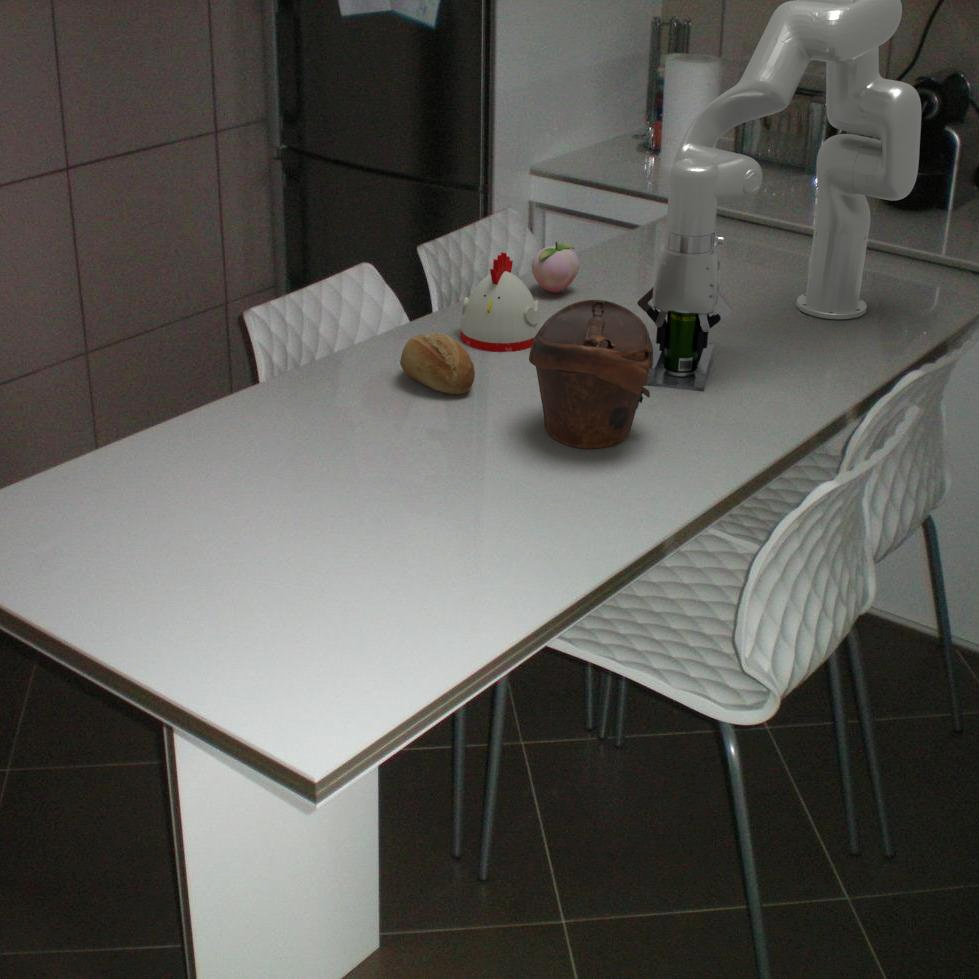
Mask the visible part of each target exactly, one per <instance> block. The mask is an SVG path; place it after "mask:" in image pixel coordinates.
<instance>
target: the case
mask: <svg viewBox="0 0 979 979" xmlns="http://www.w3.org/2000/svg"><path fill="white" fill-rule="evenodd" d="M653 348H654V345H653V343H652V340H651V338H650V334H649V331H648V328H647V326H646V324H645V323H644V321H643V320H642V319H641V318H640V317H639V316H638V315H636V314H635V312H633V311H632V310H630V309H628V308H627V307H625V306H622V305H620V304H617V303H615V302H613V301H608V300H603V299H587V300H580V301H576V302H574V303H570V304H569V305H566V306H564V307H562V308H561V309H560V310H558V311H556V312H555V313H554V314H552V315H551V316H550V317H549V318H548V319H547V320H545V322H544V323H543V324H542V325H541V329H540V330H539V331H538V333H537V334H536V336H535V337H534V339H533V343H532V347H531V348H530V350H529V355H528V356H529V357H528V361H529V363H530V364H532V365H533V366H534V367H535V369H536V375H537V380H538V381H537V382H538V387H539V393H540V394H539V395H540V401H541V406H542V412H543V424H544V427H543V428H544V429H545V430H546V432H547V433H548V435H549V436H550V437H551V438H552V439H554V440H555V441H557V442H559V443H561V444H563V445H565V446H568V447H572V448H577V449H588V450H591V449H602V448H609V447H612V446H615V445H618V444H619V443H621V442H624V441H625V440H626V439H627V438H628V436H629V435H630V433H631V430H632V427H633V424H634V419H635V416H636V412H637V409H638V408H639V405H640V404H642V403H643V399H644V397H643V395H644V396H646V397H647V398H650V397H651V393H650V391H649V389H647V388H646V386H647V385H646V384H647V378H648V373H649V368H650V369H651V368H652V366H653Z"/></svg>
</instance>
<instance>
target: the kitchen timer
mask: <svg viewBox="0 0 979 979" xmlns="http://www.w3.org/2000/svg"><path fill="white" fill-rule="evenodd" d="M510 259H511V257H510V256H507V252H500V254H497V258H496V259H493V265H492V267H493V268H490V269H489V271H490V274H487V275H486V276H485V277H484V278H483V279H481V280H480V282H479V283H478V284H476V286H475V288H474V289H473V290H472V292H471V294H470V296H469V297H466V296H465V297H464V299H463V304H462V310H461V314H462V317H461V324H460V340H461V341H462V342H463V344H465V345H467V346H468V347H470V348H472V349H476V350H480V351H485V352H491V353H494V352H495V353H512V352H518V351H525V350H528V349H531V347H532V343H533V339H534V337H535V336H536V334H537V333H538V331H539V330H540V329H541V327H542V325H541V321H540V316H541V315H540V314H541V313H540V305H539V300H535V299H534V298H533V297H534V296H533V295H532V293H531V291H530V289H529V288H528V286H527V285H526V284H525V282H523V281H522V280H521V279H520V278H519V277H518V276H516V275H515V274H514V273H512V270H513V262H514V261H513V260H510Z"/></svg>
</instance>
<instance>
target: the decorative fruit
mask: <svg viewBox="0 0 979 979" xmlns="http://www.w3.org/2000/svg"><path fill="white" fill-rule="evenodd" d="M573 250H576V249H575V247H574V246H573V245H571V244H569V243H565V242H564V243H563V242H562V243H559V244H558V241H555V245H551V246H550V245H549V246H546V247H543V248H542V249H540V250H539V251H538V252H536V254H534V257H533V259H532V262H531V271H532V275H533V277H534V279H535V281H536V283H537V284H538V285H539V286H540V287H542V288H543V289H544V290H546V291H548V292H551V293H553V294H557V293H560V292H561V291H563V290H565V289H566V288H568V287H569V286H570V285H571V284H572V283H573V281H574V280H575V279H576V278H577V275H578V273H579V270H580V265H581V264H580V260H579V257H578V256H577V254H576V253H575V252H574V251H573Z"/></svg>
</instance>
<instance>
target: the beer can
mask: <svg viewBox="0 0 979 979" xmlns="http://www.w3.org/2000/svg"><path fill="white" fill-rule="evenodd" d="M666 321H667V328H666V341H665V354H664V369H665V371H666V372H667V373H668V374H670V375H673V376H680V377H684V376H690V375H692V374H694V372H695V370H696V369H697V359H698V354H697V344H698V332H699V329H700V326H701V323H700V319H699V315H698V314H694V313H690V312H688V311H685V310H679V311H668V313H667V316H666Z"/></svg>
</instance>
